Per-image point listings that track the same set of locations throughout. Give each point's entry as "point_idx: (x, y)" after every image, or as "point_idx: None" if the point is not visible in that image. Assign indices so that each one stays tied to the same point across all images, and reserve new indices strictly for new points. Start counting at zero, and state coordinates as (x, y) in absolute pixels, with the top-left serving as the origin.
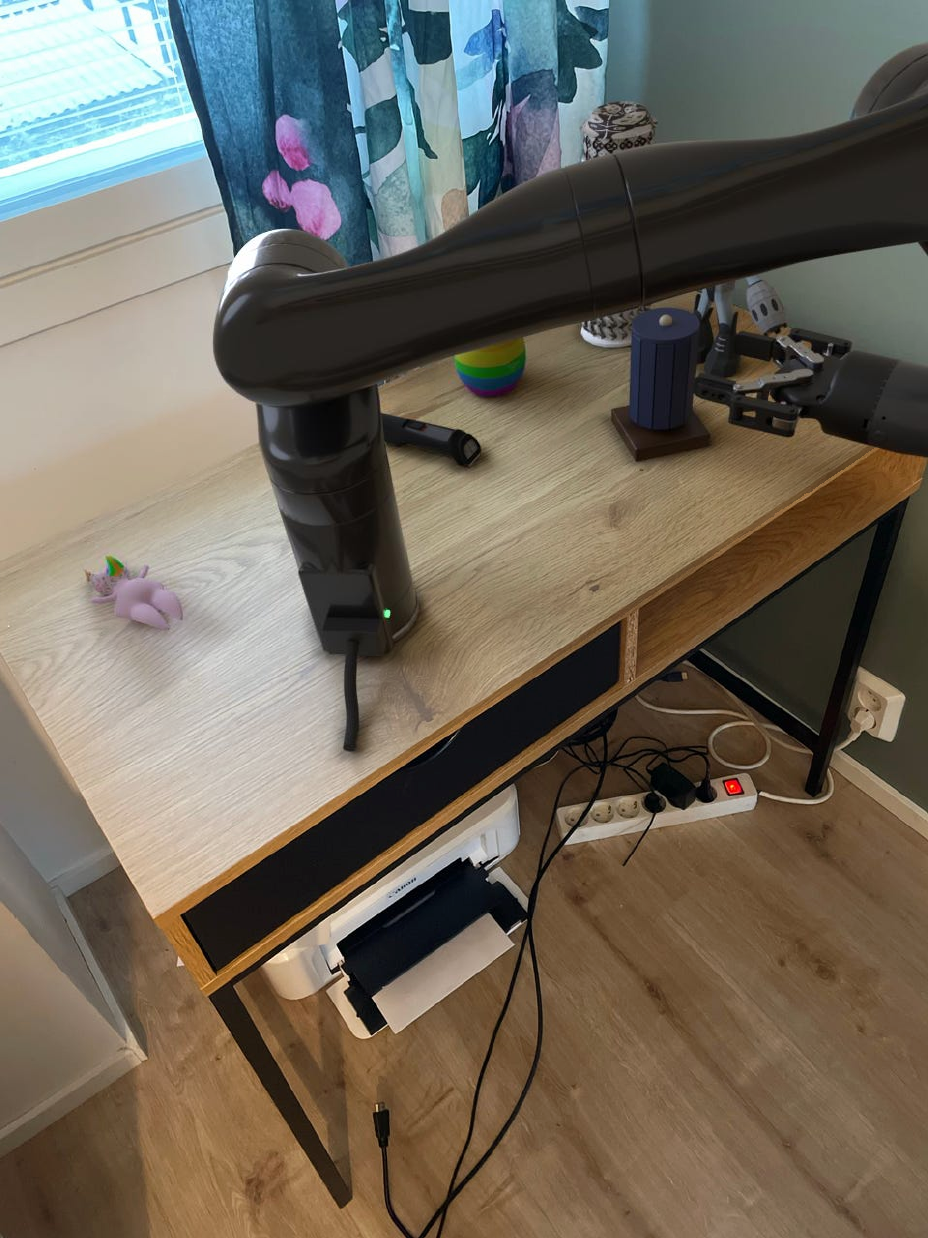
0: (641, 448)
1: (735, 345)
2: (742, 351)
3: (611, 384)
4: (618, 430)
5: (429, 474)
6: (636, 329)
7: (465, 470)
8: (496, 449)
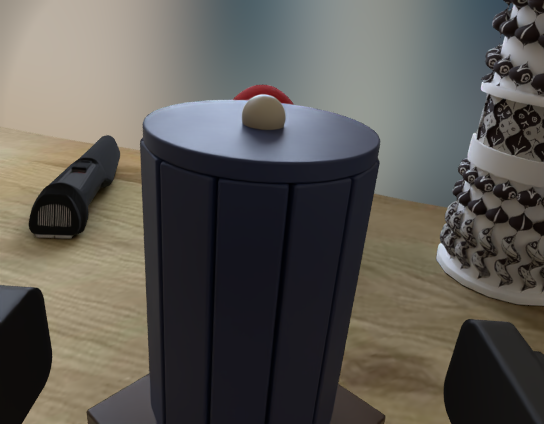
0: (94, 420)
1: (452, 368)
2: (463, 419)
3: (355, 308)
4: None
5: (14, 215)
6: (192, 103)
7: (26, 237)
8: (92, 248)
